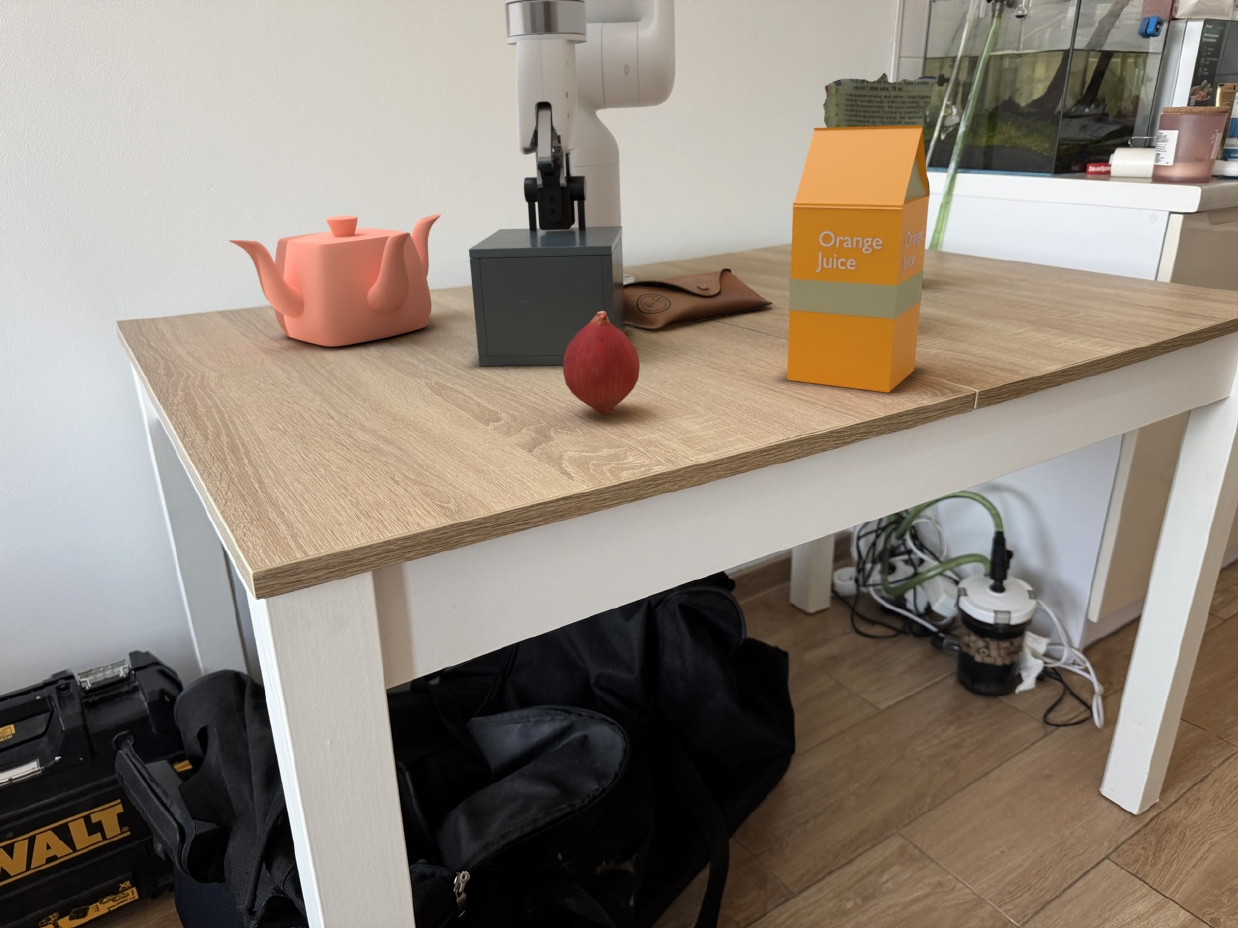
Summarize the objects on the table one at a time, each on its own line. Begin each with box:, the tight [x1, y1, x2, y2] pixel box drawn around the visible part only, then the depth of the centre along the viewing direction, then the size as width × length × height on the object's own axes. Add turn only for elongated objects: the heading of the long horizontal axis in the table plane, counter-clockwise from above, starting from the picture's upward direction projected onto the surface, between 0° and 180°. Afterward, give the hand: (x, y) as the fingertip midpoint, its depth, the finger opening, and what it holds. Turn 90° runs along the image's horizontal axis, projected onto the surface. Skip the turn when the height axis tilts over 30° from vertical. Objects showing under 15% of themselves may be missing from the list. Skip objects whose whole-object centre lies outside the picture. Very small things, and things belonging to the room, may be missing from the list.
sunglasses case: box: [623, 267, 773, 330], centre depth 103 cm, size 18×7×7 cm
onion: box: [562, 311, 641, 415], centre depth 69 cm, size 6×6×8 cm
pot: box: [228, 213, 442, 347], centre depth 98 cm, size 18×17×12 cm
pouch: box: [822, 72, 939, 198], centre depth 111 cm, size 11×12×25 cm
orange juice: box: [786, 126, 930, 393], centre depth 75 cm, size 8×9×20 cm
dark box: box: [469, 235, 626, 367], centre depth 89 cm, size 14×13×10 cm
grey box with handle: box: [468, 176, 623, 259], centre depth 87 cm, size 15×13×6 cm
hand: (557, 226), depth 92 cm, fingers closed on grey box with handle, 2 cm apart
